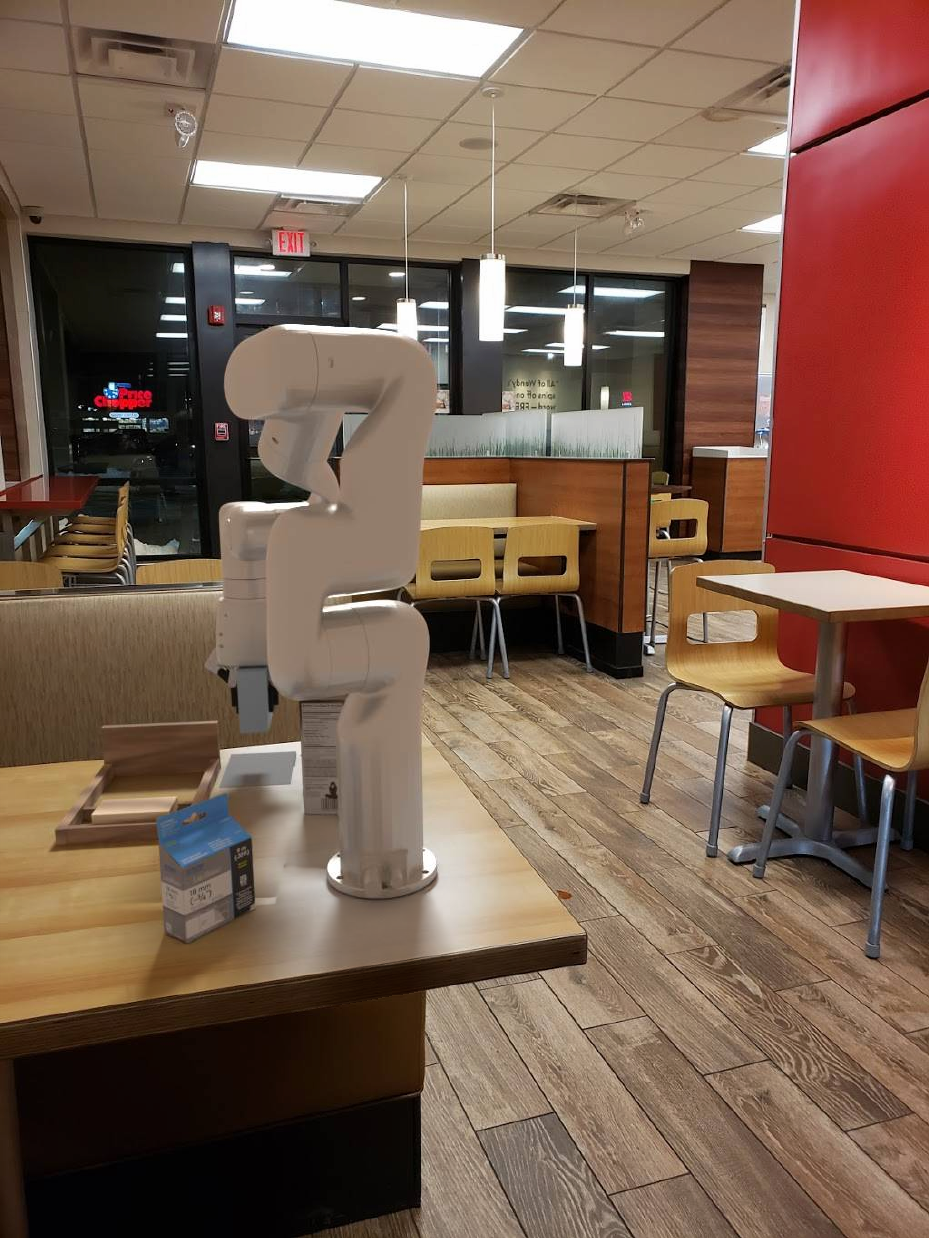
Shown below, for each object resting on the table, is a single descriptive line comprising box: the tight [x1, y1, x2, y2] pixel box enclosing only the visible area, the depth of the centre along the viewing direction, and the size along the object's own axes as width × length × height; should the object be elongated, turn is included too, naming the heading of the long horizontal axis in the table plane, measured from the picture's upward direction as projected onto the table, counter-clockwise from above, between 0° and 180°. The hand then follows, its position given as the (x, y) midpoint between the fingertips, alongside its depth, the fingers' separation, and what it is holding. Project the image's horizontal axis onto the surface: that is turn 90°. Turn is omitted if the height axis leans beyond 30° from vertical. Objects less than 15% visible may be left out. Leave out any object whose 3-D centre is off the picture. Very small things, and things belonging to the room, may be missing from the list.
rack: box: [54, 720, 222, 846], centre depth 123 cm, size 24×16×8 cm
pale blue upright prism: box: [237, 666, 274, 734], centre depth 134 cm, size 8×4×9 cm, turn 7°
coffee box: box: [298, 693, 350, 815], centre depth 123 cm, size 9×6×16 cm
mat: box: [218, 750, 297, 789], centre depth 136 cm, size 14×10×1 cm
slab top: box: [91, 795, 179, 824], centre depth 115 cm, size 5×9×2 cm, turn 96°
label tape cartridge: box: [156, 792, 256, 944], centre depth 93 cm, size 9×4×12 cm, turn 143°
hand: (255, 709), depth 134 cm, fingers closed on pale blue upright prism, 4 cm apart
